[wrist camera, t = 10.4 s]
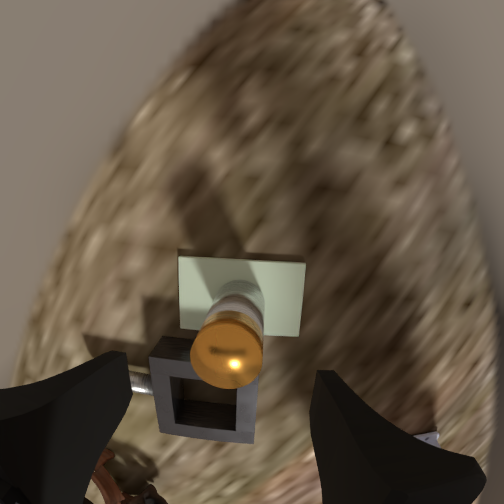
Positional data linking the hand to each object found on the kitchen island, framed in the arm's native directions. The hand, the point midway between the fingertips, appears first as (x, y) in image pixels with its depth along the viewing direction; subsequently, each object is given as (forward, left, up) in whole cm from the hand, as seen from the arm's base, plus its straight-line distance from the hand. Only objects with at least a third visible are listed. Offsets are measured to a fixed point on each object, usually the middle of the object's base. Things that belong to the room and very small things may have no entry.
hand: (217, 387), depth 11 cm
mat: (0, 0, -10) cm, 10 cm away
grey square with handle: (+5, +7, -10) cm, 13 cm away
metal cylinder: (0, 0, -10) cm, 10 cm away
